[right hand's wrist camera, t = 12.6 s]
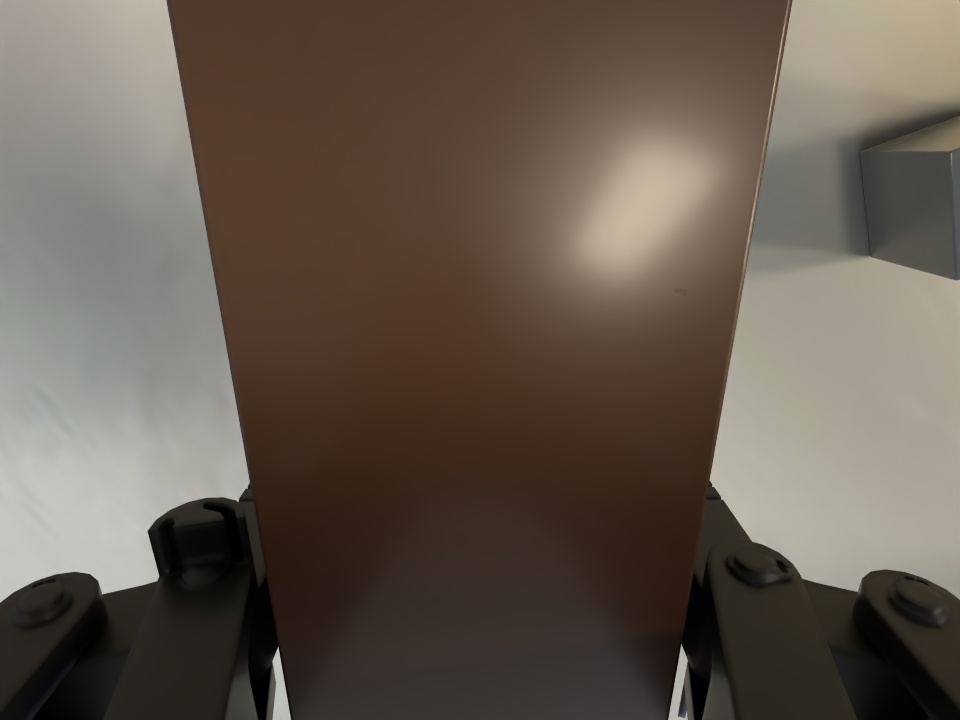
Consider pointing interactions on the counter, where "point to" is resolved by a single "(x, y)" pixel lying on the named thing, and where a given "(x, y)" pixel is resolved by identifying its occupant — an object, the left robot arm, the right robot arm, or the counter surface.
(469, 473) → the walnut bar
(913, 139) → the grey block
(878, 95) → the counter surface
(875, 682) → the right robot arm
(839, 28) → the counter surface
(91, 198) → the counter surface
